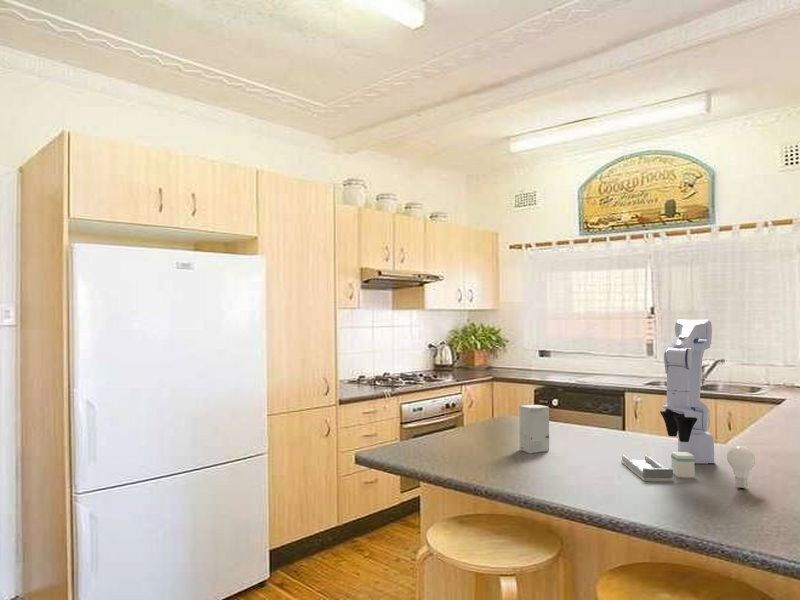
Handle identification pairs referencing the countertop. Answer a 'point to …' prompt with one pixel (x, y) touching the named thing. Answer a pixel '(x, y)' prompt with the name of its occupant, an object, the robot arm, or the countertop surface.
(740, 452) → the lightbulb
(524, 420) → the skincare box
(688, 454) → the block
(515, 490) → the countertop surface
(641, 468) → the rail plate
